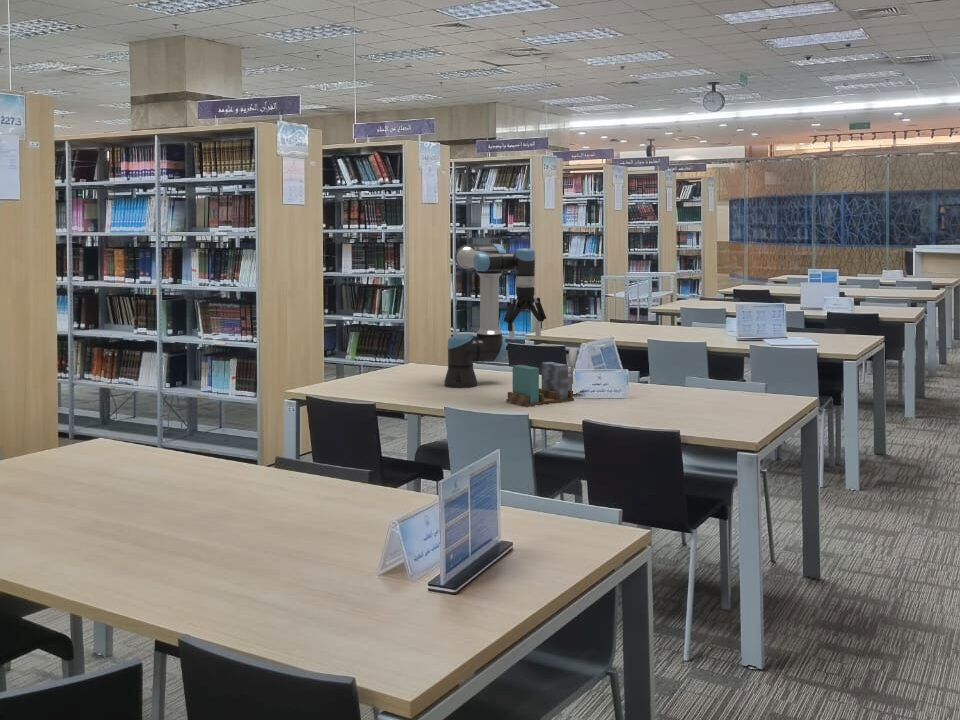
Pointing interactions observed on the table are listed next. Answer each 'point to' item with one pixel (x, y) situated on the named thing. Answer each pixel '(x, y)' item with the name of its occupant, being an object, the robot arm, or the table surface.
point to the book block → (526, 382)
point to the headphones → (572, 360)
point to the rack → (548, 387)
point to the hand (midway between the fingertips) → (525, 337)
